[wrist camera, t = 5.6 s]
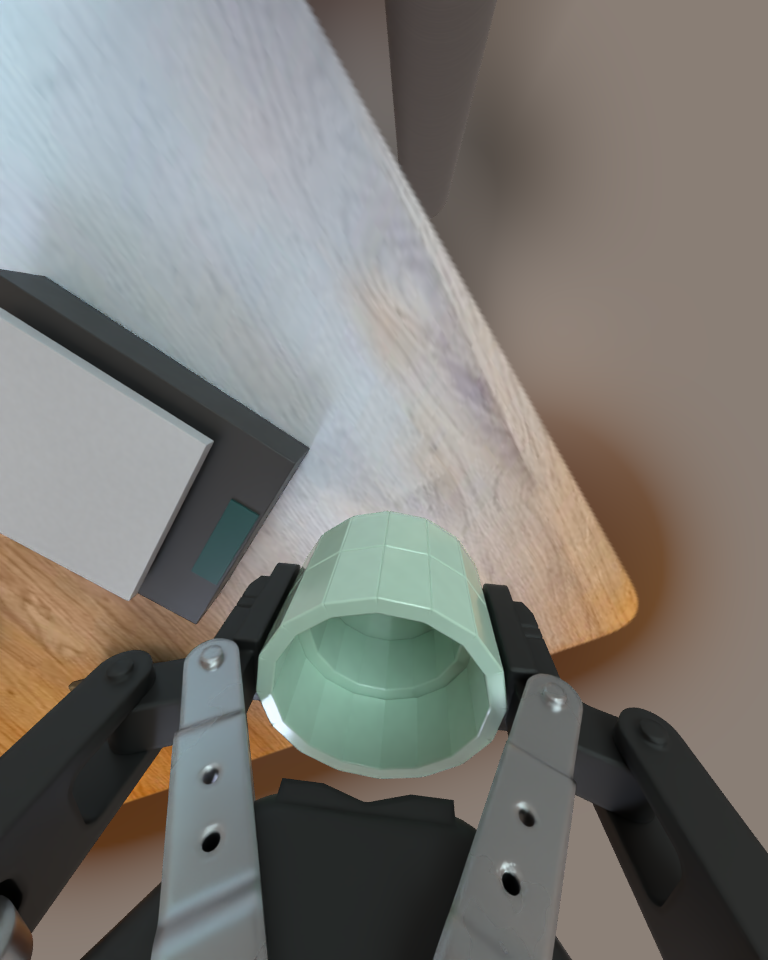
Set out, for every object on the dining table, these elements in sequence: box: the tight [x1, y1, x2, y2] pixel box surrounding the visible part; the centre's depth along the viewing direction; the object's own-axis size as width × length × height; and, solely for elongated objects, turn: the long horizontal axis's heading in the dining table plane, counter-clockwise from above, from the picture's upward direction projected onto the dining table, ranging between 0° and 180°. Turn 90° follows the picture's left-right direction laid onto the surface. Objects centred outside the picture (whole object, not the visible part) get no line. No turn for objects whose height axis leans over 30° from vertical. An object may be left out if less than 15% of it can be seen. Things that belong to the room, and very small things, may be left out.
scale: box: [0, 269, 309, 624], centre depth 22 cm, size 14×17×5 cm
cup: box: [256, 511, 508, 779], centre depth 11 cm, size 6×6×5 cm
